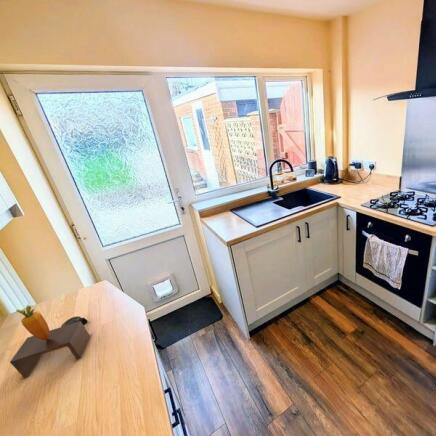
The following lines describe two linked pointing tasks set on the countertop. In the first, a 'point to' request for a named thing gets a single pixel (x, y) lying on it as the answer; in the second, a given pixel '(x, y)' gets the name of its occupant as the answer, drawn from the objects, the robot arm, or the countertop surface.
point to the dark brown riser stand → (50, 346)
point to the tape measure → (74, 321)
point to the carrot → (35, 323)
